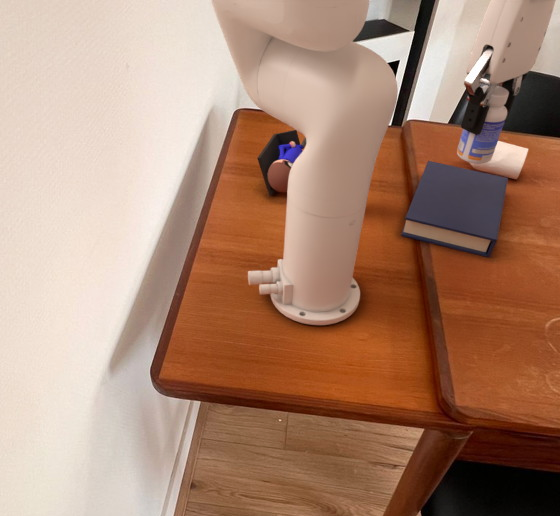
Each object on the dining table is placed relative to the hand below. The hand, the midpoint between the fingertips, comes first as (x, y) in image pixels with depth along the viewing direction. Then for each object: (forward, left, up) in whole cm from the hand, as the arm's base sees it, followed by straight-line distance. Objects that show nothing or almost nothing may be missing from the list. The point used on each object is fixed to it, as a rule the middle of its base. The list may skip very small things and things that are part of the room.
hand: (483, 124), depth 78 cm
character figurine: (-27, +13, -15) cm, 34 cm away
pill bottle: (0, 0, -5) cm, 5 cm away
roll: (+12, +14, -15) cm, 24 cm away
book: (0, 0, -15) cm, 15 cm away
